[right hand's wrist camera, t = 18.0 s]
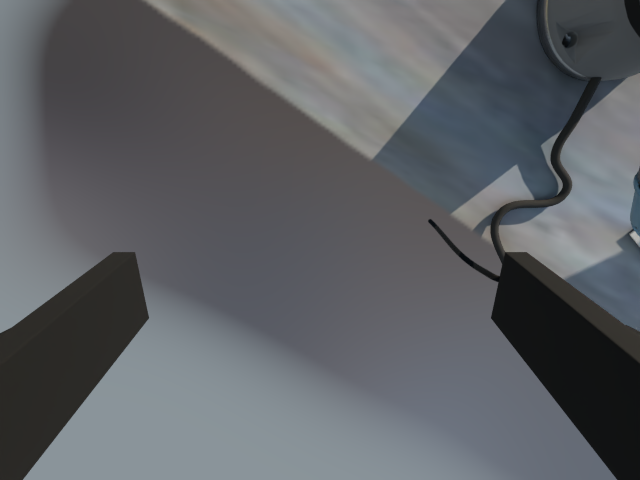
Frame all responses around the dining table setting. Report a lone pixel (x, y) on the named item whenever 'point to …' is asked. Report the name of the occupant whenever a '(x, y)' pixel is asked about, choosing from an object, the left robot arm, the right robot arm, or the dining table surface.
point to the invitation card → (635, 237)
